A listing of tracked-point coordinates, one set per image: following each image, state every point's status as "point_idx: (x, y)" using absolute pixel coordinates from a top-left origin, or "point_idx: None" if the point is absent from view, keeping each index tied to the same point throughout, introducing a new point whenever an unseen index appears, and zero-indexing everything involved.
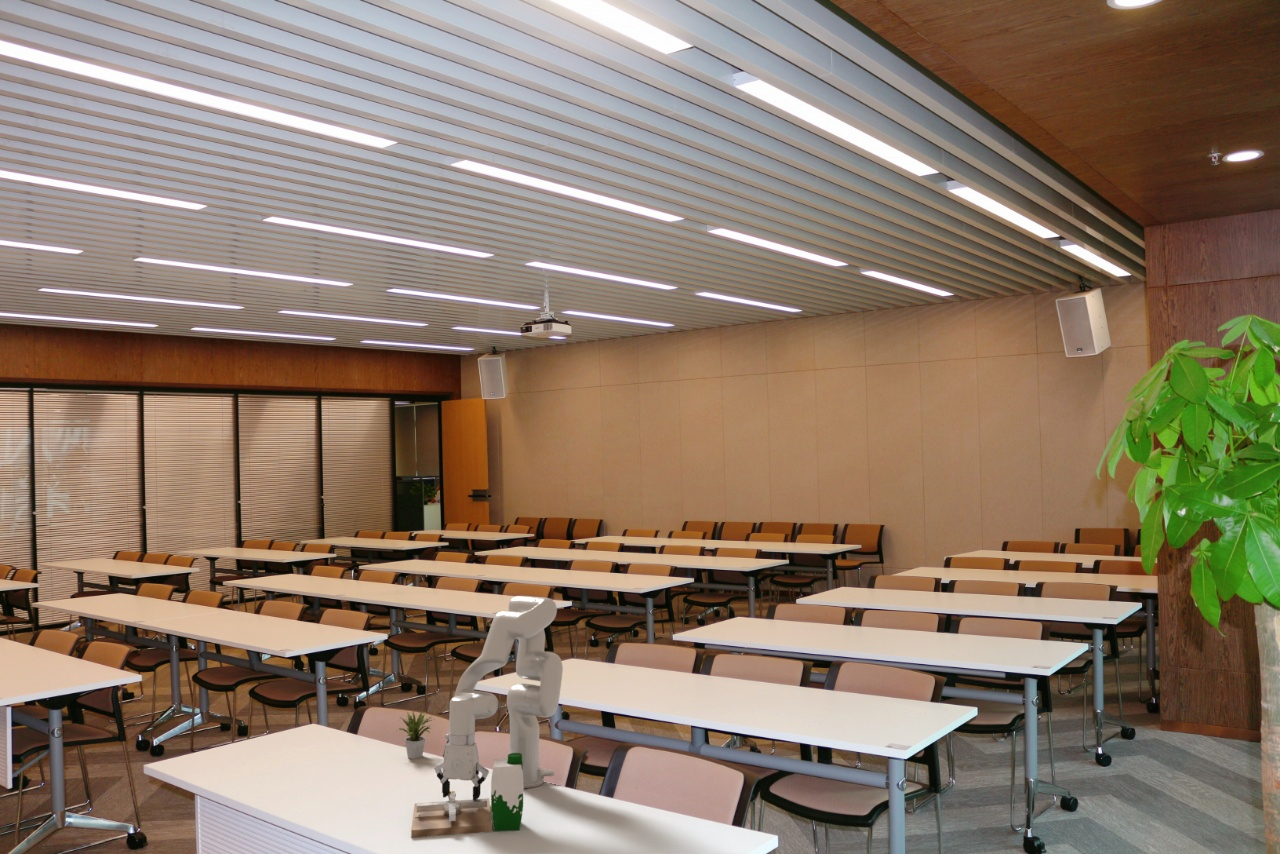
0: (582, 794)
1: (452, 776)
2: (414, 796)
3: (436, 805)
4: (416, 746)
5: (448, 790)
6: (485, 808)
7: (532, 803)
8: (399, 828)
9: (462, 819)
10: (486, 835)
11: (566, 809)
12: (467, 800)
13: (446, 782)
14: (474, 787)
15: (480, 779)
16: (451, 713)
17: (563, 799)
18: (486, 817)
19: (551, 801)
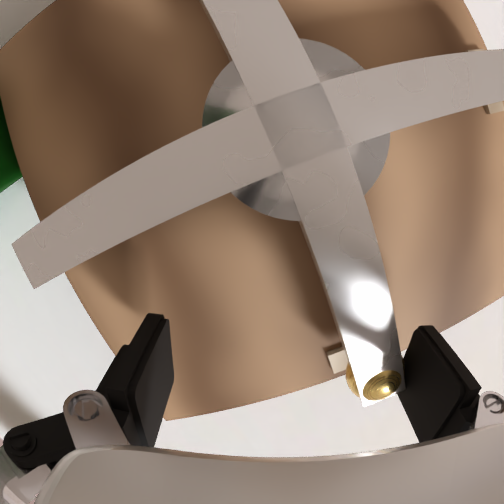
0: (3, 437)
1: (445, 466)
2: (496, 392)
3: (422, 58)
4: None
5: (411, 391)
6: (95, 281)
7: (41, 403)
8: (491, 30)
9: (157, 38)
10: (30, 16)
11: None
12: (154, 216)
13: (454, 420)
14: (112, 383)
15: (37, 447)
16: None
17: (5, 417)
18: (29, 129)
19: (14, 410)
